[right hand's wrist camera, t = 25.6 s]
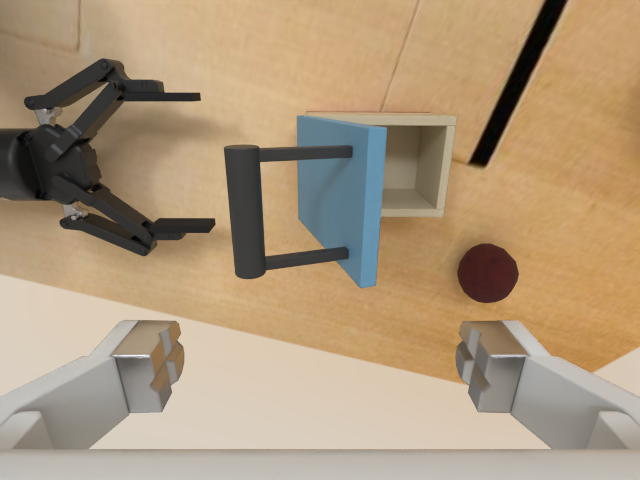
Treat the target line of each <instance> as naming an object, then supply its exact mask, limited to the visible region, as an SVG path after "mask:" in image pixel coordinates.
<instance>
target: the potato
mask: <svg viewBox="0 0 640 480" xmlns="http://www.w3.org/2000/svg"><path fill="white" fill-rule="evenodd" d="M518 275H519V273H518V268H517V265H516V261H515V260H514V259H513V258H512V257H511V256H510V255H509V254H508V253H507V252H506V251H505V250H504V249H503V248H500V247H498V246H495V245H492V244H480V245H477V246H475V247H473V248H471V249H470V250H469V251H468V252H467V253H466V254H465V256H464V257H463V258H462V260H461V261H460V264H459V268H458V279H459V283H460V285H461V287H462V289H463V291H464V292H465V293H466V294H467V295H468V296H469V297H471V298H472V299H474V300H476V301H478V302H483V303H491V302H497V301H500V300H502V299H504V298H506V297H507V296H508V295H509V293H510V292H511V291H512V289H513V288H514V286H515V284H516V282H517V279H518Z"/></svg>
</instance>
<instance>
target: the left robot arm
mask: <svg viewBox="0 0 640 480" xmlns="http://www.w3.org/2000/svg"><path fill="white" fill-rule="evenodd" d="M107 82H109V84H108V85H107V86H106V87H105V88H104V89H103V90H102V92H101V93H100V94H99V95H98V96H97V97H96V99H95V100H94V101H93V102H92V103H91V104H90V105H89V107H88V108H87V109H86V110H85V111H84V112H83V113H82V115H81V116H80V117H79V118H78V119H77V120H76V121H75V123H74V124H73V125H71V126H70V127H68V128H67V129H65V128H63V127H62V126H60V125H58V124H56V123H55V119H56V117H58V116H60V115H61V113H62V112H63V109H62V108H61V107H66V106H69V105H71V104H73V103H75V102H76V101H78V100H79V99H81V98H83V97H84V96H86V95H87V94H89V93H91V92H92V91H94V90H96V89H97V88H99V87H100V86H102V85H104V84H105V83H107ZM124 101H201V98H200V93H165V92H164V86H163V82H161V81H158V80H131V79H129V78H128V77H127V75H126V74H125V72H124V66H123V64H122V63H121V62H120V61H116V60H110V59H100V60H98V61H97V62H95V63H94V64H92V65H91V66H89V67H87V68H86V69H84V70H83V71H81V72H80V73H78V74H76V75H75V76H73V77H72V78H70V79H69V80H67V81H65V82H64V83H62V84H61V85H59V86H57V87H56V88H54V89H53V90H51V91H50V92H48V93H46V94H45V95H39V96H31V97H26V98H25V99H24V103H25V106H26V107H27V108H28V109H30V110H35V113H36V115H37V118H38V120H39V123H40V126H39V127H37V128H35V129H0V201H6V200H30V201H47V200H52V201H56V202H59V203H61V204H63V209H64V215H65V218H63V219H61V220H60V225H61V227H63V228H64V229H71V230H81V231H84V232H86V233H88V234H91V235H93V236H96V237H98V238H100V239H103V240H105V241H108V242H110V243H112V244H115V245H117V246H120V247H122V248H124V249H127V250H129V251H132V252H134V253H136V254H139V255H141V256H146V255H148V254H149V253H150V252H151V251H152V250H153V249H154V248H155V247H156V246H157V240H179V239H182V238H183V237H184V236H185V235H186V233H209V232H210V231H211V229H212V228H213V227H214V226H215V218H159V219H158V220H157V221H155V222H154V223H153V222H152V221H150V220H149V219H148V218H146V217H145V216H143V215H142V214H140V213H139V212H138V211H136V210H135V209H133V208H132V207H130V206H129V205H127V204H126V203H125V202H123V201H122V200H120V199H119V198H117V197H116V196H115V195H113V194H112V193H111V192H110V189H108V188H107V187H106V186H104V185H103V184H101V183H100V182H99V178H102V177H101V173H100V170H99V168H98V166H97V163H96V161H97V156H96V152H95V149H92V147H91V146H90V145H89V144H88V143H89V142H90V141H91V140H92V139H93V138H94V137H95V136H96V134H97V131H98V130H99V129H100V128H101V127H102V125H103V124H104V123H105V122H106V121H107V120H108V119H109V118H110V117H111V115H112V114H113V113H114V112H115V111H116V110H117V109H118V108H119V107H120V106H121V104H122V103H123V102H124ZM90 191H93V193H90ZM78 201H81V202H82V203H84V204H85V205H87V206H92V207H94V208H96V209H97V210H99V211H100V212H102V213H103V214H105V215H106V216H108V217H109V218H111V219H112V220H114V221H115V222H116V223H115V222H113V221H110V220H108V219H106V218H103V217H101V216H98V215H95V214H91V213H89V211H88V210H87V209H83V208H80V207H79V206H78V205H77V202H78ZM117 223H118V224H117Z"/></svg>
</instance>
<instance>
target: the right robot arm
mask: <svg viewBox="0 0 640 480" xmlns="http://www.w3.org/2000/svg"><path fill="white" fill-rule="evenodd" d="M180 334H181V332H180V327H179V324H178V323H177V322H176V321H155V320H142V321H140V320H124V321H121V322H119V323H118V324H117V325H116V327H115V328H114V329H113V330H112V331H111V332H110V333H109V334H108V335H107V336H106V338H105V339H104V340H103V341H102V342H101V343H100V344H99V345H98V346H97V347H96V348H95V350H94V351H93V352H92V353H91V354H90V355H89V356H83V357H80V358H78V359H76V360H74V361H72V362H70V363H68V364H66V365H64V366H62V367H60V368H58V369H56V370H54V371H52V372H50V373H48V374H46V375H44V376H42V377H40V378H38V379H35V380H33V381H31V382H29V383H27V384H25V385H23V386H21V387H19V388H17V389H15V390H13V391H11V392H9V393H7V394H5V395H3V396H1V397H0V480H640V397H639V396H637V395H635V394H633V393H631V392H629V391H627V390H625V389H623V388H621V387H619V386H616V385H614V384H612V383H610V382H608V381H606V380H604V379H602V378H600V377H598V376H596V375H594V374H592V373H590V372H588V371H586V370H584V369H582V368H580V367H578V366H576V365H574V364H572V363H570V362H568V361H566V360H564V359H562V358H560V357H558V356H551V355H550V354H549V353H548V352H547V351H546V350H545V348H544V347H543V346H542V345H541V344H540V343H539V342H538V341H537V340H536V339H535V337H534V336H533V335H532V334H531V333H530V332H529V331H528V330H527V329H526V328H525V326H524V325H523V324H522V323H521V322H519V321H517V320H498V321H463V322H462V324H461V326H460V331H459V334H460V336H461V338H462V339H463V341H462V342H461V343H460V344H459V345H458V346H457V349H456V366H457V370H458V373H459V375H460V377H461V380H462V381H464V382H465V383H466V384H468V385H469V390H468V393H469V395H470V397H471V399H472V401H473V403H474V405H475V407H476V409H477V411H478V412H491V413H511V415H512V416H513V417H514V418H515V419H517V420H518V421H519V422H520V423H521V424H523V425H524V426H525V427H526V428H527V429H529V430H530V431H531V432H532V433H533V434H535V435H536V436H537V437H538V438H539V439H541V440H542V441H543V442H544V443H545V444H547V445H548V446H549V447H550V448H551V449H89V448H90V447H91V446H92V445H94V444H95V443H96V442H97V441H98V440H99V439H101V438H102V437H103V436H104V435H106V434H107V433H108V432H109V431H110V430H112V429H113V428H114V427H115V426H116V425H118V424H119V423H120V422H121V421H122V420H124V419H125V418H126V417H127V416H128V415H129V413H149V412H162V411H163V409H164V407H165V405H166V403H167V401H168V399H169V397H170V395H171V393H172V390H171V385H172V384H174V383H175V382H176V381H178V380H179V377H180V375H181V373H182V369H183V365H184V349H183V346H182V345H181V344H180V343H179V342H178V341H177V339H178V338H179V336H180Z"/></svg>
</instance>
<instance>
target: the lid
mask: <svg viewBox="0 0 640 480" xmlns="http://www.w3.org/2000/svg"><path fill="white" fill-rule="evenodd" d="M386 137H387V128H386V127H380V126H373V125H367V124H360V123H353V122H347V121H340V120H334V119H327V118H321V117H314V116H297V147H278V148H259V146H256V145H230V146H226V147H224V154H225V165H226V176H227V187H228V198H229V209H230V220H231V231H232V243H233V254H234V265H235V274H236V276H237V277H239V278H242V279H254V278H258V277H261V276H263V275H264V274H265V272H266V270H272V269H279V268H286V267H293V266H301V265H308V264H315V263H322V262H330V261H337V262H338V264H339V265H340V266H341V267H342V268H343V269H344V270H345V271H346V273H347V274H348V275H349V276H350V277H351V278H352V279H353V280H354V282H355V283H356V284H357V285H358V286H359V287H360V288H365V287H371V286H376V275H377V261H378V247H379V234H380V220H381V206H382V192H383V178H384V164H385V151H386ZM291 160H298V215H299V220H300V221H301V222H302V223H303V224H304V225H305V227H306V228H307V229H308V230H309V231H310V232H311V233H312V234H313V236H314V237H315V238H316V239H317V240H318V241H319V242H320V243H321V245H322V246H323V247H324V248H325V249H321V250H313V251H305V252H298V253H290V254H282V255H274V256H266V257H265V246H264V227H263V209H262V191H261V173H260V162H269V161H291Z"/></svg>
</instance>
